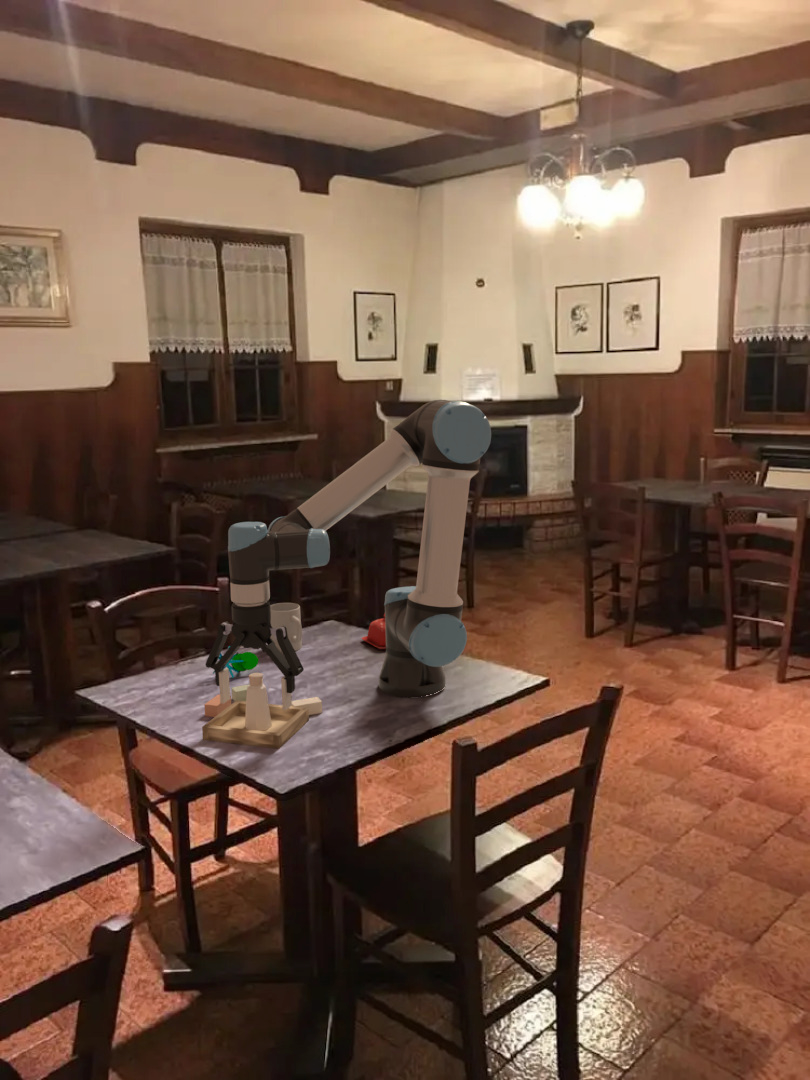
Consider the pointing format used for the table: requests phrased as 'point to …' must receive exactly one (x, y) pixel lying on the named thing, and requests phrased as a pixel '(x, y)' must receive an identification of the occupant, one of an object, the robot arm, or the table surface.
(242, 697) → the sage brick
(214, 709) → the terracotta brick
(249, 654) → the stick construction toy
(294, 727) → the oak tray
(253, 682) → the pepper shaker
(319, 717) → the table surface
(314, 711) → the cream brick
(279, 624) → the mug
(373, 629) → the butter dish
